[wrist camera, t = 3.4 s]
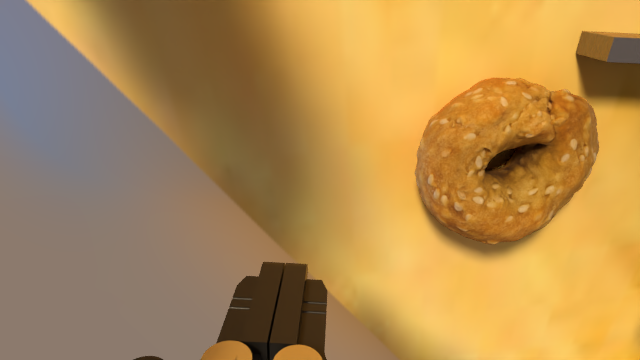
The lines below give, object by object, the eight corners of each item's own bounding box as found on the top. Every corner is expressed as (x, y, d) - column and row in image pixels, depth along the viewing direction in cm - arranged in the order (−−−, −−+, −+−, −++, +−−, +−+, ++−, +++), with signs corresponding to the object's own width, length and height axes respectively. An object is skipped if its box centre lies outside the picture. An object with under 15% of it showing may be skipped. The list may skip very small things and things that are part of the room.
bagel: (586, 200, 28) (631, 238, 24) (422, 230, 30) (435, 272, 25) (586, 50, 24) (640, 63, 20) (397, 95, 26) (408, 116, 22)
